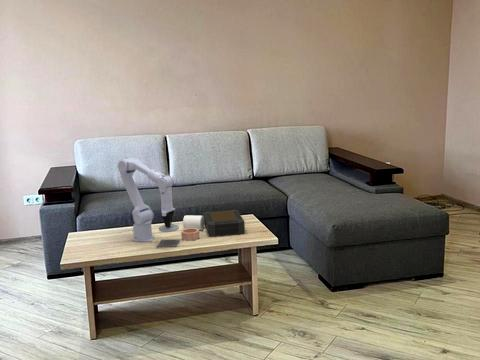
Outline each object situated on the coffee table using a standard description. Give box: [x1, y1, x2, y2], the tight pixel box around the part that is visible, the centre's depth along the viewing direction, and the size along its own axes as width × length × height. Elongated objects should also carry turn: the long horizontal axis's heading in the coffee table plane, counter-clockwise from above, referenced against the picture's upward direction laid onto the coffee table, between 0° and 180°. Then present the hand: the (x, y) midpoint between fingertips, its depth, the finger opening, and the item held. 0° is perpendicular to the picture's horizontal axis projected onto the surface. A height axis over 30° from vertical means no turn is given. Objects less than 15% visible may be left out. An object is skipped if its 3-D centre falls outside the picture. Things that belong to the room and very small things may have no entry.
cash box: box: [203, 209, 246, 238], centre depth 278 cm, size 25×20×8 cm
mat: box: [156, 238, 181, 248], centre depth 257 cm, size 10×10×1 cm
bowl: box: [180, 228, 200, 242], centre depth 265 cm, size 9×9×4 cm
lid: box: [158, 221, 179, 233], centre depth 255 cm, size 10×10×4 cm
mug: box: [182, 214, 205, 231], centre depth 281 cm, size 12×10×8 cm
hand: (168, 226), depth 255 cm, fingers closed on lid, 2 cm apart
